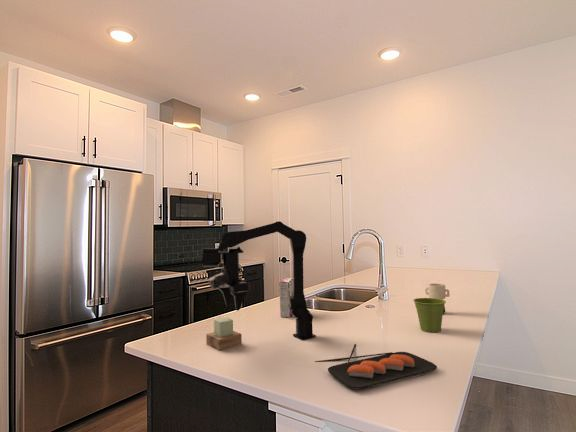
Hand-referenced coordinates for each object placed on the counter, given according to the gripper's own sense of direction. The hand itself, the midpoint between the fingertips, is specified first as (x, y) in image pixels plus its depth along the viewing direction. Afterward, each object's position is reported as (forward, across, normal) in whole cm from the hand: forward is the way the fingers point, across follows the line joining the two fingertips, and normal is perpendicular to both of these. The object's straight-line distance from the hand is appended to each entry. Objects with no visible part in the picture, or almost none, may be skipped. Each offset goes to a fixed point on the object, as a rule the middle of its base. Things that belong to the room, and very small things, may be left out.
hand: (232, 308), depth 124 cm
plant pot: (+13, +34, +67) cm, 77 cm away
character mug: (+13, +21, +92) cm, 96 cm away
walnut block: (+12, +1, -4) cm, 13 cm away
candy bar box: (+12, -20, +36) cm, 43 cm away
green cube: (+8, +1, -4) cm, 9 cm away
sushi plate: (+13, +42, +24) cm, 51 cm away
